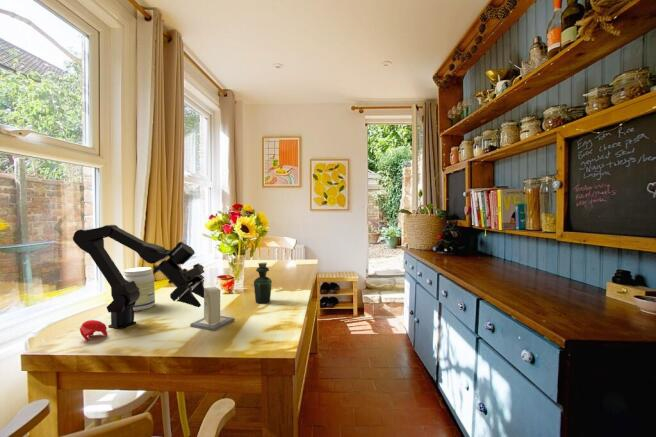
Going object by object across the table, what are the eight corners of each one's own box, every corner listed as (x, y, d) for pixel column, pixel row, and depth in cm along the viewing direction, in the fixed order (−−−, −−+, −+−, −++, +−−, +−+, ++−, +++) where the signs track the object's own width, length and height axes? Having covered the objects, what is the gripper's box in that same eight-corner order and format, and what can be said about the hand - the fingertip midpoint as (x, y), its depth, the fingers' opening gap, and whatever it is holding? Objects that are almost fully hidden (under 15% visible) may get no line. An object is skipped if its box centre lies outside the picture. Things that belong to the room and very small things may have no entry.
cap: (75, 334, 100) (94, 322, 102) (76, 323, 104) (94, 312, 106) (93, 348, 104) (111, 336, 106) (93, 336, 109) (110, 325, 111)
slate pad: (213, 330, 111) (213, 327, 111) (190, 326, 115) (190, 323, 115) (234, 320, 121) (234, 317, 121) (212, 316, 125) (211, 314, 125)
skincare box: (203, 319, 119) (203, 287, 118) (215, 317, 122) (214, 286, 121) (209, 324, 114) (208, 291, 114) (221, 321, 117) (220, 289, 116)
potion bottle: (251, 301, 146) (250, 263, 145) (267, 298, 150) (266, 261, 150) (258, 305, 139) (258, 265, 138) (274, 302, 144) (274, 263, 143)
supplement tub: (161, 303, 143) (160, 266, 142) (142, 312, 131) (141, 272, 130) (136, 302, 144) (135, 266, 143) (115, 311, 132) (114, 271, 131)
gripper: (179, 262, 107) (211, 294, 108) (199, 254, 126) (226, 281, 127) (155, 285, 107) (188, 316, 108) (179, 273, 126) (207, 300, 127)
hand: (204, 302), depth 117 cm, fingers open, 9 cm apart
